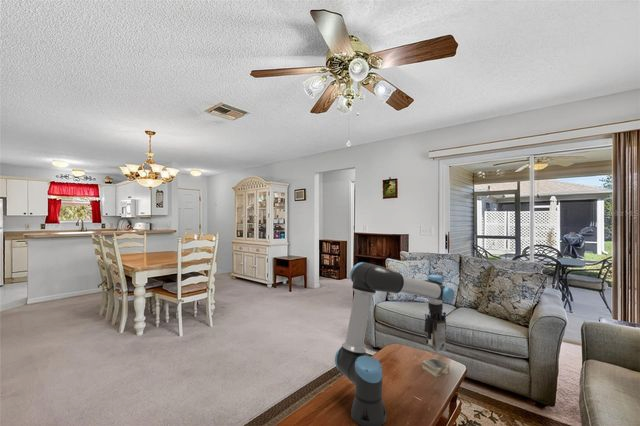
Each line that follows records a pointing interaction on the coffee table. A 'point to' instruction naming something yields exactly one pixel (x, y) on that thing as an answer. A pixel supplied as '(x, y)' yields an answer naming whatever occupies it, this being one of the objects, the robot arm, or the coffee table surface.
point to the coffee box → (437, 336)
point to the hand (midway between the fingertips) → (435, 343)
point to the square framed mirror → (435, 367)
